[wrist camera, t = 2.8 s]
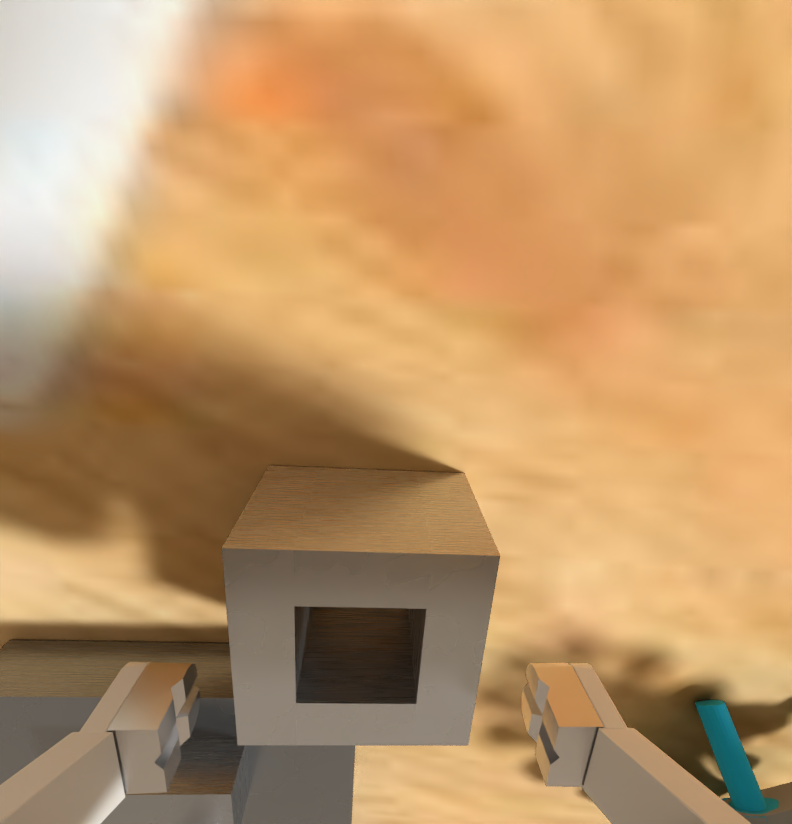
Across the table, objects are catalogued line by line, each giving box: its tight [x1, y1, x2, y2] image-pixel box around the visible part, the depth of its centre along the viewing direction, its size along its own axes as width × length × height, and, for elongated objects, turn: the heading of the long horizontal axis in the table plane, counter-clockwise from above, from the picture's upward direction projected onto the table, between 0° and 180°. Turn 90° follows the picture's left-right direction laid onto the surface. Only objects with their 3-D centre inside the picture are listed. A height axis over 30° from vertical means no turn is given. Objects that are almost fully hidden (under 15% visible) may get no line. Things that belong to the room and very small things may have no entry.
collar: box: [222, 465, 500, 745], centre depth 12 cm, size 6×6×4 cm
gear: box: [695, 700, 792, 824], centre depth 15 cm, size 11×6×10 cm
